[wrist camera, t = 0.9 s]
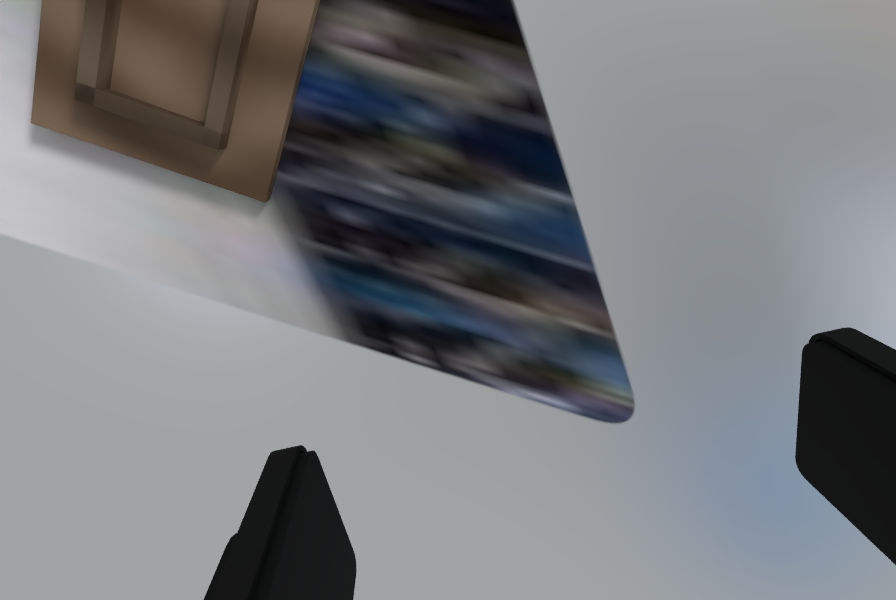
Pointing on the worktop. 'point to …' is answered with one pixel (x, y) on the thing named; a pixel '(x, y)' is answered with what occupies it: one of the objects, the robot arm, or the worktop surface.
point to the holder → (176, 82)
